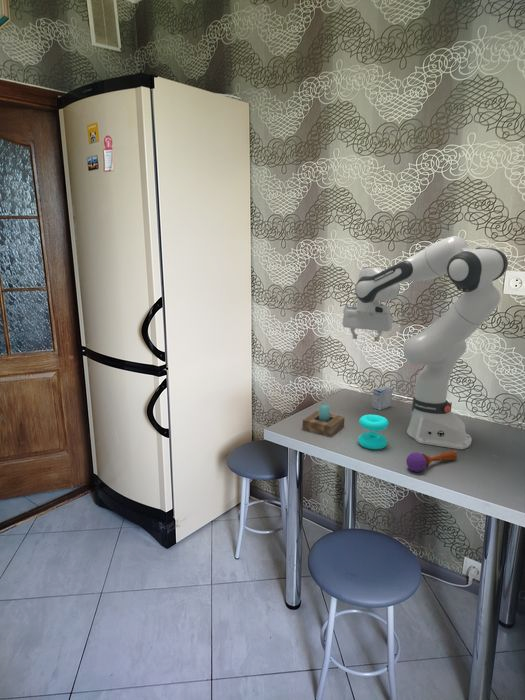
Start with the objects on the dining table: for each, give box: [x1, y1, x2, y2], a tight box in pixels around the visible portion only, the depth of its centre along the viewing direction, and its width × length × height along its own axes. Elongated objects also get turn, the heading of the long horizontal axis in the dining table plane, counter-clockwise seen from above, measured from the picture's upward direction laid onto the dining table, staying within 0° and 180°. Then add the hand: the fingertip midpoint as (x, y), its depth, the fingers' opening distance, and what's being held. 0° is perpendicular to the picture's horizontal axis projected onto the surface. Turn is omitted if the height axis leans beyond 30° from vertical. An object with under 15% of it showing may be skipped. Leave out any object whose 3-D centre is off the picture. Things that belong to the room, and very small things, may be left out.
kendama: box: [406, 449, 458, 473], centre depth 148 cm, size 6×6×20 cm
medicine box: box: [371, 385, 393, 411], centre depth 201 cm, size 8×4×9 cm, turn 130°
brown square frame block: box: [301, 410, 345, 438], centre depth 178 cm, size 12×12×4 cm
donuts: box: [357, 413, 389, 450], centre depth 163 cm, size 10×10×10 cm
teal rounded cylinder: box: [318, 404, 331, 422], centre depth 177 cm, size 4×4×9 cm
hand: (365, 339), depth 191 cm, fingers open, 8 cm apart
